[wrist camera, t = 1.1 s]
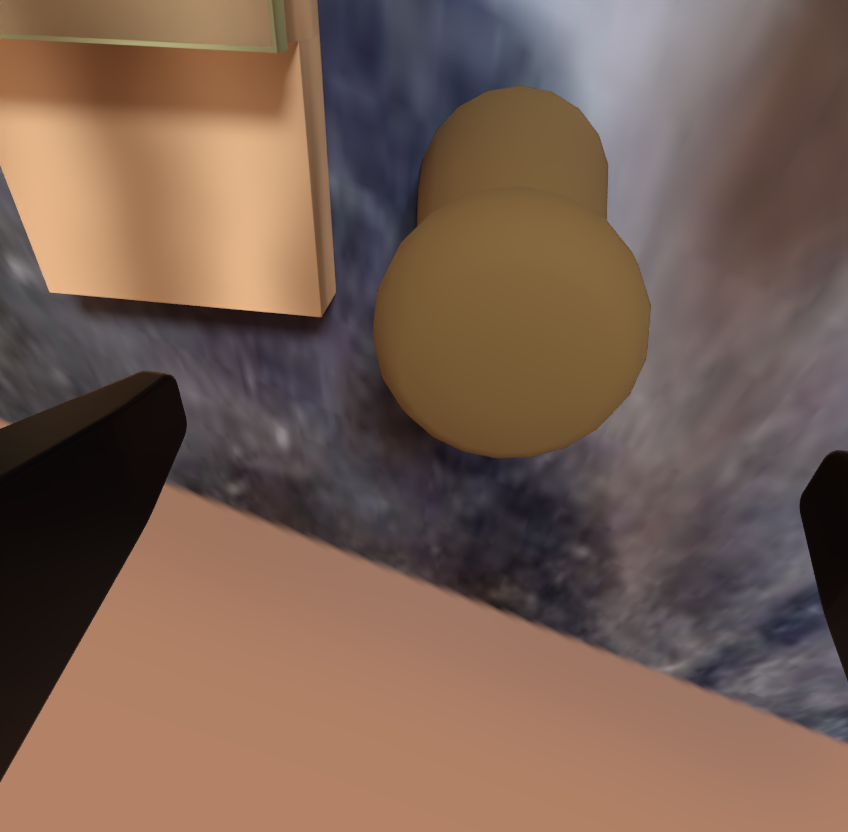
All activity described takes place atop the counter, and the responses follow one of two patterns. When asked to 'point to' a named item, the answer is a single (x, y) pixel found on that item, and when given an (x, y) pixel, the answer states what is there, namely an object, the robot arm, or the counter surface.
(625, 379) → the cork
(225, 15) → the tan piece
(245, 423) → the counter surface
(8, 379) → the counter surface
